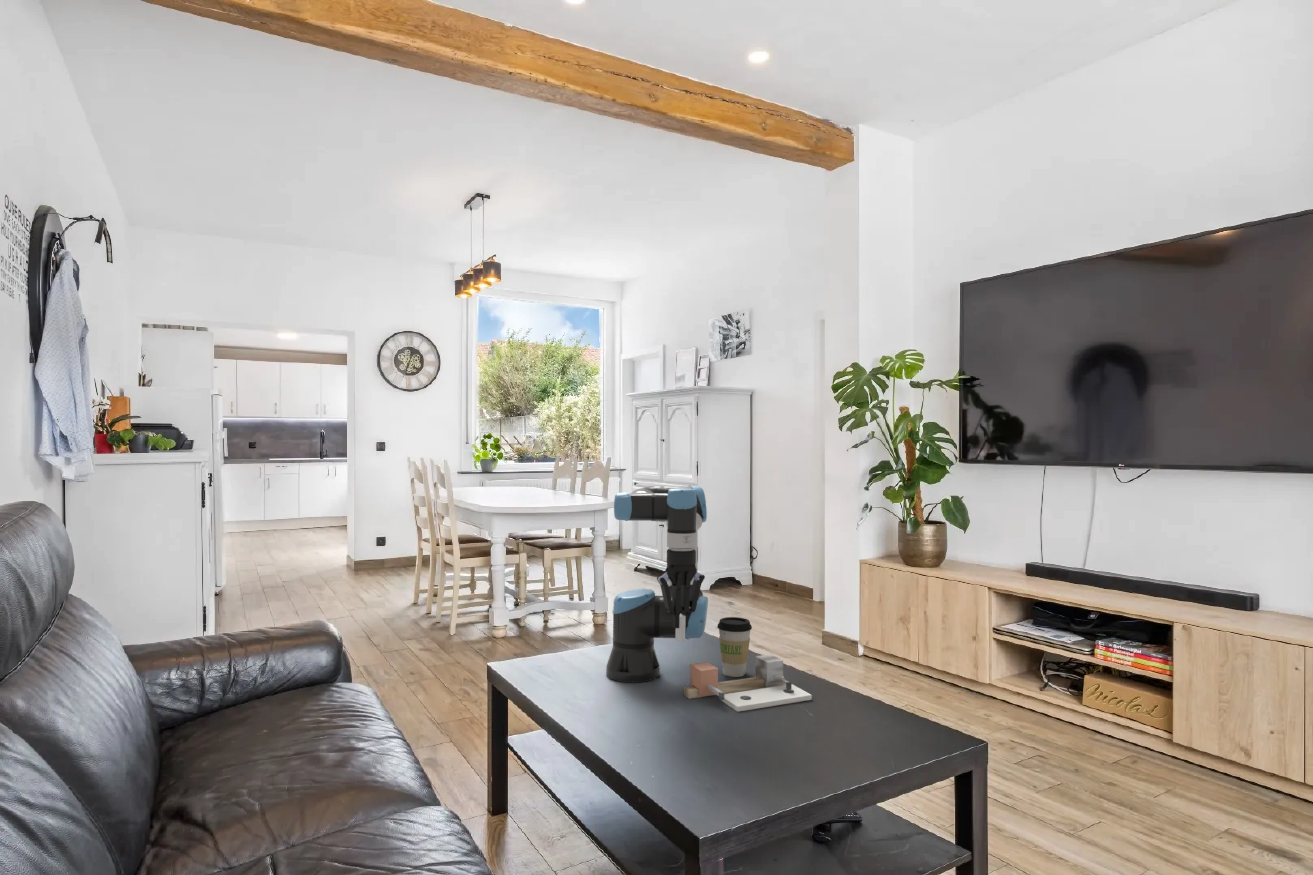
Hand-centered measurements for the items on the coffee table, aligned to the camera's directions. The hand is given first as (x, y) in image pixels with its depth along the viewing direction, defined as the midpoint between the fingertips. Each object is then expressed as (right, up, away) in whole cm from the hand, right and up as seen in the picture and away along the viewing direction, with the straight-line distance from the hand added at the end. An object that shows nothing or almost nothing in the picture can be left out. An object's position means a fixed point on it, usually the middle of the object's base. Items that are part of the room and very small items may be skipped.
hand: (680, 640), depth 192 cm
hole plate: (+22, -15, 0) cm, 27 cm away
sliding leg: (+8, -14, 0) cm, 16 cm away
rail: (+16, -15, +4) cm, 23 cm away
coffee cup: (+16, -15, +21) cm, 30 cm away
